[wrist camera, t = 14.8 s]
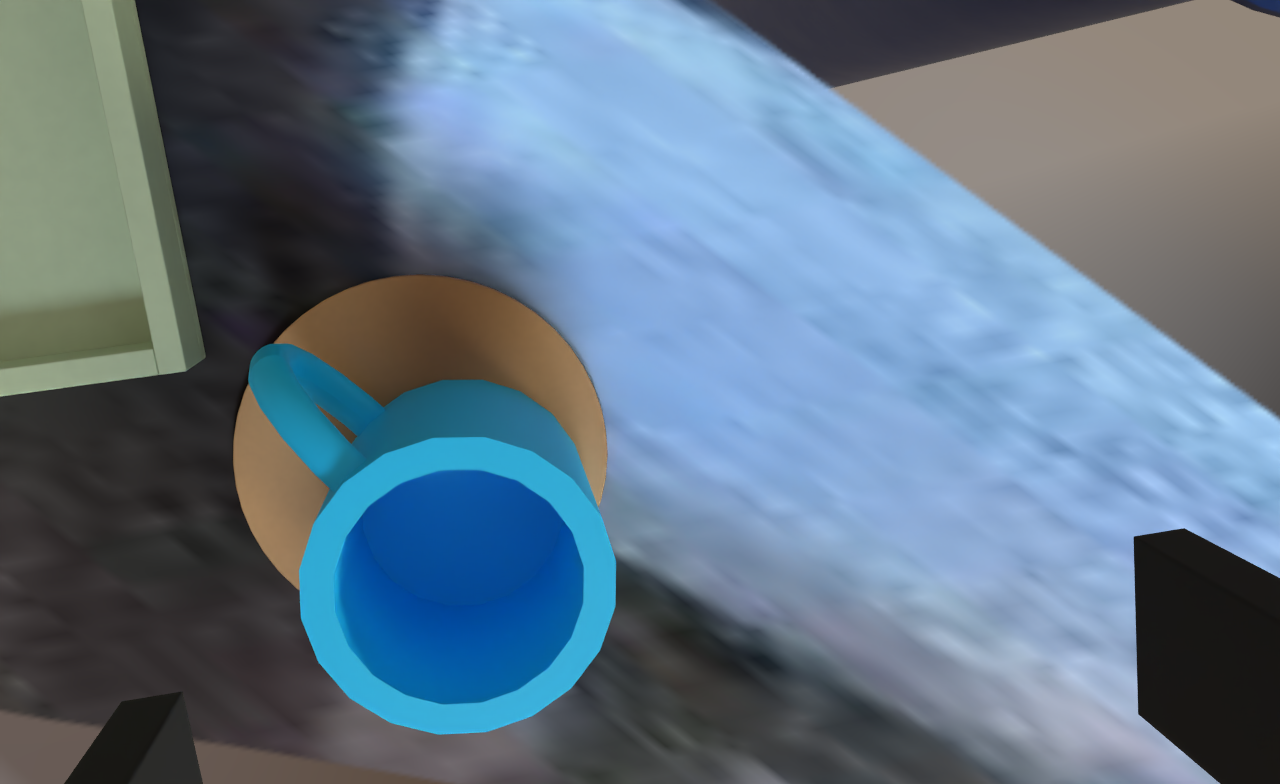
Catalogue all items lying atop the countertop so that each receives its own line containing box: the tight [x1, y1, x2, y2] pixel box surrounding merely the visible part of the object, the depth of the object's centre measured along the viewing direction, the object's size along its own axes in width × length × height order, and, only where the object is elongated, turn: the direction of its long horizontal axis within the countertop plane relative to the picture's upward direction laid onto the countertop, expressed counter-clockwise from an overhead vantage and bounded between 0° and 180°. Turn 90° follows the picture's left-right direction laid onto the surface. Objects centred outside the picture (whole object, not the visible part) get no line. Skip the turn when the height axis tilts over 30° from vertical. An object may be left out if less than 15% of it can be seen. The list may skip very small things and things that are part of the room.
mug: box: [248, 343, 616, 734], centre depth 33 cm, size 12×8×8 cm
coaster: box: [233, 274, 607, 590], centre depth 37 cm, size 12×12×1 cm
